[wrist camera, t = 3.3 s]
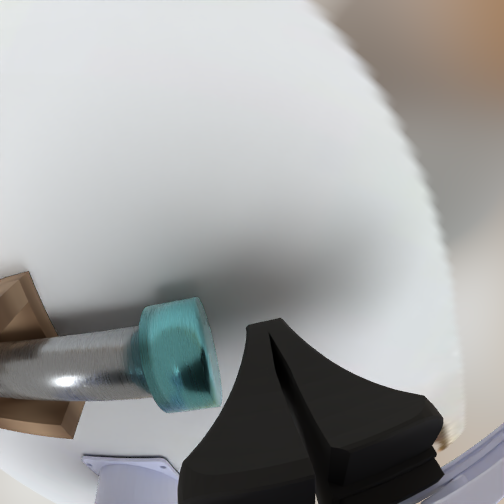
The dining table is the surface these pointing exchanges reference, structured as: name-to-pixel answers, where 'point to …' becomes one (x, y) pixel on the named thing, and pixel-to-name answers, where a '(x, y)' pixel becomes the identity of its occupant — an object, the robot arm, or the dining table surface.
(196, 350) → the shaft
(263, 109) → the dining table surface
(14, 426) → the housing
